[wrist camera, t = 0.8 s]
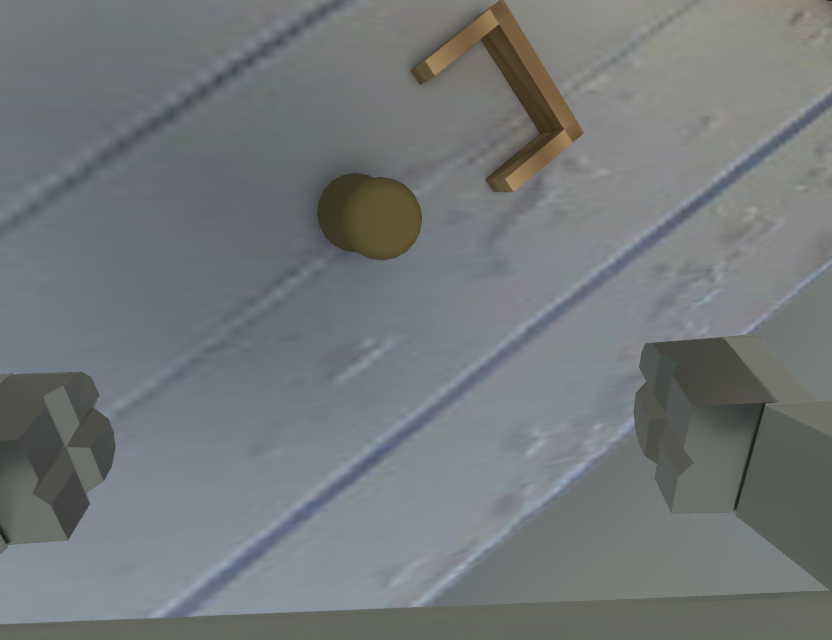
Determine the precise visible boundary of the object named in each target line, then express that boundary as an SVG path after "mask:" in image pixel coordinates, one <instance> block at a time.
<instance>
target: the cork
mask: <svg viewBox="0 0 832 640" xmlns="http://www.w3.org/2000/svg"><path fill="white" fill-rule="evenodd" d="M318 219H319V224H320V227H321V229H322V231H323V233H324V235H325V236H326V238H327V239H328V240H330V241H331V242H332V243H333V244H334V245H335V246H337V247H339V248H341V249H343V250H345V251H353V252H358V253H359V254H361V255H363V256H366V257H368V258H370V259H376V260H387V259H392V258H396V257H398V256H399V255H401V254H403V253H405V252H406V251H407V250H408V249H409V248H410V247H411V246H412V245H413V244H414V243H415V241H416V239H417V237H418V235H419V233H420V229H421V222H422V216H421V210H420V206H419V204H418V202H417V200H416V197H415V195H414V194H413V193H412V192H411V191H410V190H409V189H408V188H407V187H406V186H405V185H404V184H402V183H400V182H398V181H396V180H394V179H388V178H382V177H381V178H375V179H374V178H372V177H370V176H368V175H363V174H357V173H354V174H348V175H343V176H341V177H339V178H338V179H336V180H334V181H332V182H331V183H330V184H329V186H328V187H327V188H326V189H325V190H324V192H323V194H322V196H321V198H320V200H319V205H318Z"/></svg>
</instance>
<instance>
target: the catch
mask: <svg viewBox="0 0 832 640" xmlns="http://www.w3.org/2000/svg"><path fill="white" fill-rule="evenodd" d="M480 39H481V40H482V42H483V43H484V45H485V47H486V48H487V50H488V51H489V53H490V54H491V56H492V58H493V59H494V61H495V62H496V64H497V66H498V67H499V69H500V70H501V72H502V73H503V75H504V77H505V78H506V80H507V81H508V83H509V84H510V86H511V88H512V89H513V91H514V92H515V94H516V96H517V97H518V99H519V100H520V102H521V103H522V105H523V107H524V108H525V110H526V111H527V113H528V114H529V116H530V118H531V119H532V121H533V122H534V124H535V125H536V127H537V129H538V130H539V132H540V133H541V134H540V135H539V136H537V137H536V138H535V139H534V140H533V141H531V142H530V143H529V144H528V145H527V146H525V147H524V148H523V149H522V150H521V151H519V152H518V153H517V154H516V155H514V156H513V157H512V158H511V159H510V160H508V161H507V162H506V163H505V164H504V165H502V166H501V167H500V168H499V169H498V170H496V171H495V172H494V173H493V174H492V175H490V176H489V177H488V178H487V179H486V181H487V183H488V184H489V186H490V187H491V188H492V190H493V191H494V192H514V191H515V190H517V189H518V188H519V187H520V186H521V185H523V184H524V183H525V182H526V181H527V180H528V179H530V178H531V177H532V176H533V175H534V174H536V173H537V172H538V171H539V170H540V169H542V168H543V167H544V166H545V165H546V164H548V163H549V162H550V161H551V160H552V159H554V158H555V157H556V156H557V155H558V154H560V153H561V152H562V151H563V150H564V149H566V148H567V147H568V146H569V145H570V144H571V143H573V142H574V141H575V140H576V139H577V138H579V137H580V136H581V135H582V134H583V133H584V132H583V130H582V129H581V127H580V125H579V124H578V122H577V120H576V119H575V117H574V115H573V114H572V112H571V111H570V109H569V107H568V106H567V104H566V102H565V101H564V99H563V97H562V96H561V94H560V92H559V91H558V89H557V87H556V86H555V84H554V83H553V81H552V79H551V78H550V76H549V74H548V73H547V71H546V69H545V68H544V66H543V64H542V63H541V61H540V59H539V58H538V56H537V55H536V53H535V51H534V50H533V48H532V46H531V45H530V43H529V41H528V40H527V38H526V36H525V35H524V33H523V31H522V30H521V28H520V27H519V25H518V23H517V22H516V20H515V18H514V17H513V15H512V13H511V12H510V10H509V8H508V7H507V5H506V3H505V2H504V0H500V1H498V2H497V3H496V4H494V5H493V6H492V7H490V8H489V9H487V10H486V11H485V12H483V13H482V14H481V15H479V16H478V17H477V18H476V19H474V20H473V21H472V22H471V23H469V24H468V25H467V26H466V27H464V28H463V29H462V30H461V31H459V32H458V33H457V34H456V35H455V36H453V37H452V38H451V39H450V40H448V41H447V42H446V43H445V44H443V45H442V46H441V47H440V48H438V49H437V50H436V51H435V52H433V53H432V54H431V55H430V56H428V57H427V58H426V59H425V60H423V61H422V62H421V63H420V64H419V65H417V66H416V67H415V68H414V69H412V70H411V72H412V73H413V75H414V76H415V78H416V79H417V81H418V82H419V84H422V83H423V82H425V81H427V80H429V79H430V78H432V77H434V76H435V75H437V74H438V73H439V72H440V71H442V70H443V69H444V68H445V67H447V66H448V65H449V64H450V63H452V62H453V61H454V60H455V59H456V58H458V57H459V56H460V55H461V54H463V53H464V52H465V51H466V50H468V49H469V48H470V47H471V46H473V45H474V44H475V43H476V42H477V41H479V40H480Z"/></svg>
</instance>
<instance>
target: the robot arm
mask: <svg viewBox="0 0 832 640" xmlns="http://www.w3.org/2000/svg"><path fill="white" fill-rule="evenodd" d="M639 368H640V370H641V372H642V374H643V376H644V378H645V379H646V382H645V383H644V384H643V386H642V387H641V388H640V389H639V390H638V391H637V392H636V394H635V404H634V421H635V431H636V434H637V438H638V442H639V445H640V447H641V449H642V451H643V454H644V455H645V456H646V457H647V458H649V459H650V460H652V461H653V462H655V463H657V466H656V473H655V480H656V482H657V484H658V486H659V488H660V490H661V493H662V495H663V497H664V499H665V501H666V503H667V505H668V507H669V510H670V512H671V513H672V514H675V513H729V512H736V516H737V517H738V518H739V519H741V520H742V521H743V522H744V523H746V524H747V525H748V526H750V527H751V528H752V529H754V530H755V531H756V532H757V533H758V534H760V535H761V536H762V537H763V538H765V539H766V540H767V541H768V542H770V543H771V544H772V545H773V546H775V547H776V548H777V549H779V550H780V551H781V552H782V553H784V554H785V555H786V556H787V557H789V558H790V559H791V560H793V561H794V562H795V563H796V564H798V565H799V566H800V567H801V568H803V569H804V570H805V571H806V572H808V573H809V574H810V575H811V576H813V577H814V578H815V579H816V580H818V581H819V582H820V583H822V584H823V585H824V586H825V587H827V588H828V589H829V590H830V591H806V592H782V593H760V594H738V595H737V594H736V595H714V596H691V597H669V598H668V597H667V598H646V599H645V598H644V599H619V600H593V601H567V602H540V603H515V604H488V605H462V606H436V607H410V608H385V609H361V610H337V611H313V612H289V613H265V614H241V615H217V616H192V617H168V618H144V619H120V620H95V621H71V622H46V623H22V624H0V640H832V401H819V400H818V399H817V398H816V397H815V396H814V395H813V394H812V393H811V392H810V391H809V390H808V388H807V387H806V386H805V385H804V384H803V383H802V382H801V381H800V380H799V379H798V377H797V376H795V374H794V373H793V372H792V371H791V370H790V369H789V368H788V367H787V366H786V365H785V363H784V362H783V361H782V360H781V359H780V358H779V357H778V356H777V355H776V354H775V353H774V351H773V350H772V349H771V348H770V347H769V346H768V345H767V344H766V343H765V342H764V341H763V340H762V339H761V338H760V337H758V336H755V335H753V334H751V335H739V336H728V337H717V338H708V339H694V340H681V341H668V342H655V343H645V345H644V348H643V350H642V353H641V359H640V365H639ZM98 398H99V393H98V391H97V389H96V387H95V384H94V382H93V380H92V378H91V377H90V376H88V375H86V374H85V373H83V372H61V373H31V374H16V375H14V374H2V375H0V554H1V553H2V552H3V551H4V550H6V549H7V548H8V546H7V545H12V544H25V543H39V542H53V541H67V540H69V538H70V536H71V535H72V533H73V531H74V530H75V528H76V526H77V525H78V523H79V521H80V520H81V518H82V516H83V515H84V513H85V511H86V510H87V508H88V506H89V505H90V503H89V500H88V497H87V494H86V493H87V492H89V491H90V490H92V489H93V488H94V487H96V486H97V485H99V484H100V483H102V482H103V481H104V480H105V478H106V476H107V474H108V472H109V471H110V469H111V467H112V463H113V458H114V453H115V440H114V432H113V429H112V427H111V424H110V421H109V419H108V418H106V417H105V416H104V415H103V414H101V413H100V412H99V411H97V410H96V409H95V408H94V407H95V404H96V402H97V400H98Z"/></svg>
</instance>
